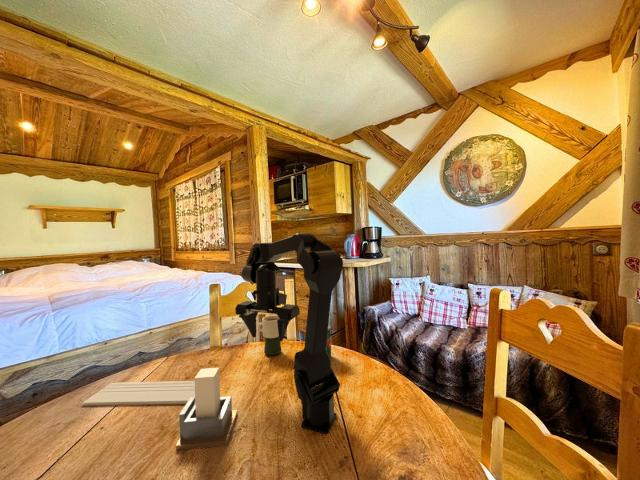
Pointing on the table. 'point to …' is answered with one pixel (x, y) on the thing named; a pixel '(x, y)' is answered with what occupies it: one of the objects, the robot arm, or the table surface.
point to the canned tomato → (328, 342)
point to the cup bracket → (205, 426)
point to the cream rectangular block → (207, 393)
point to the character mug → (270, 334)
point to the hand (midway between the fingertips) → (267, 339)
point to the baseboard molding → (144, 393)
